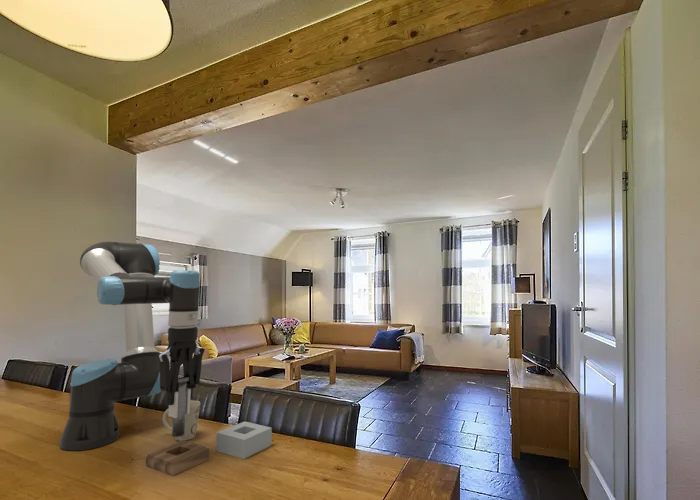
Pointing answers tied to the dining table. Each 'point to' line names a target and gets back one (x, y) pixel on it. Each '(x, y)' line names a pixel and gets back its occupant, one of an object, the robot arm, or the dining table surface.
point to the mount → (177, 457)
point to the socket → (243, 439)
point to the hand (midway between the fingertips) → (179, 414)
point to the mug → (187, 421)
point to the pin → (180, 407)
